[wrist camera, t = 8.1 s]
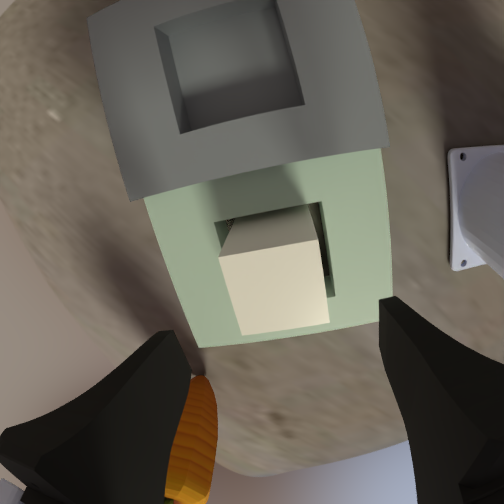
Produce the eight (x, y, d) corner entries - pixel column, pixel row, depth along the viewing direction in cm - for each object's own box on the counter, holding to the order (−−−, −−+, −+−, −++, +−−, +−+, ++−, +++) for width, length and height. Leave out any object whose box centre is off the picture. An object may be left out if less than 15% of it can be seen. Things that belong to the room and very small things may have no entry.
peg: (306, 200, 17) (318, 239, 12) (317, 263, 19) (329, 322, 13) (237, 213, 18) (218, 257, 13) (253, 275, 20) (242, 335, 14)
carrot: (163, 355, 23) (92, 527, 9) (223, 350, 22) (175, 550, 9) (185, 396, 25) (138, 551, 11) (240, 394, 24) (212, 566, 10)
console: (121, 32, 14) (86, 17, 10) (323, -21, 12) (333, -53, 8) (206, 324, 21) (193, 363, 18) (381, 296, 19) (399, 333, 16)
